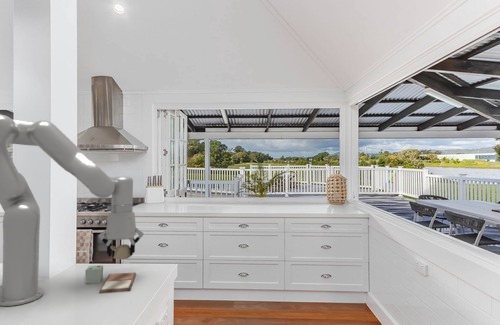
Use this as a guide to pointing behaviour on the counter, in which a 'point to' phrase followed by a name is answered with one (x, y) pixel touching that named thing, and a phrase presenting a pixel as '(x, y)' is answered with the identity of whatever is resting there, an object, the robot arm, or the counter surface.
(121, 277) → the brown framed panel
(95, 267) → the die
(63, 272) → the counter surface
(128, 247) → the decorative ornament
